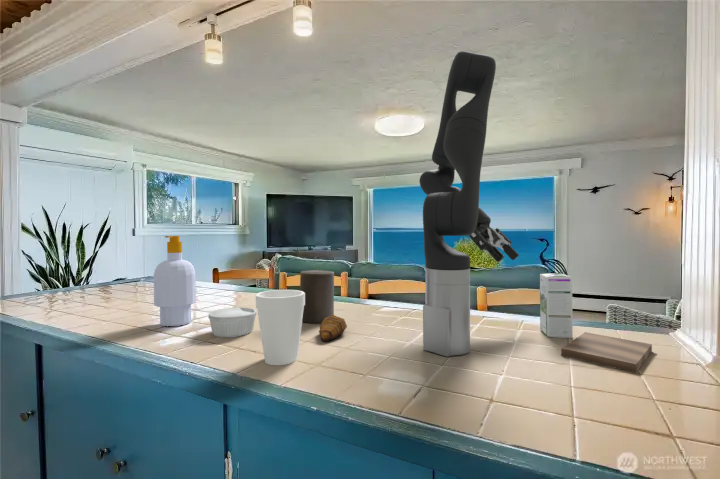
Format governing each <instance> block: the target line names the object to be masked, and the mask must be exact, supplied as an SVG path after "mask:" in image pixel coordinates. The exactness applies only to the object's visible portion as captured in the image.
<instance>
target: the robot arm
mask: <svg viewBox="0 0 720 479" xmlns="http://www.w3.org/2000/svg"><path fill="white" fill-rule="evenodd" d="M496 68H497V63H496V60H495V58H493V57H492V56H490V55H486V54H481V53H477V52H470V51H464V50H459V51H458V52H457V53H456V54H455V56H454V58H453V60H452V63H451V66H450V69H449V72H448V78H447V81H446V82H447V83H446V88H445V93H444V98H443V103H442V104H443V105H442V109H441V117H440V122H439V123H440V124H439V127H438V133H437V137H436V140H435V143H434V147H433V150H432V155H431V161H432V162H433V163H434V164H435V165H437V166H438V167H437V168H435V169H430V170H427V171H424V172H422V174H421V175H420V176H419V186H420V189H421V190H422V191H423V192H424V194H425V195H426V197H425V198H424V201H423V206H422V224H423V225H422V227H423V250H424V259H425V260H424V261H425V265H424V266H425V267H424V268H425V285H424V286H425V289H424V290H425V296H424V297H425V298H424V299H425V300H424V301H425V304H424V305H423V306H422V350H424V351H427V352H430V353H433V354H437V355H440V356H444V357H451V356H461V355H466V354H468V353H469V352H471V258H470V256H469V255H468V253H465V252H463V251H459V250H457V249H455V248H453V247H451V246H449V245H448V243H446V242H445V240H444V239H445V238H444V237H448V236H449V237H458V236H459V237H465V236H468V238H470V239H471V240H472V241H473V243H474V244H475V245H476V246H477V247H478V249H479V250H480V251H484V252H486V253H488V254H489V255H490V256H492V257H491V258H493V259H494V260H495V261H496V262H498V263H500V262H501V261H502V260H503V259H504V258H505V255H504V254H503V253H502V252H501V251H500V250H499V249H501V250H502V251H503V252H504V253H505V254H506V255H507V256H508V257H509V259H510V260H512V261H514V260H516V259H517V258H518V257H519V256H520V255H519V253H518V252H517V251H516V250H515V249H514V248H513V247H512V246H511V244H512V240H511V239H510V238H509V237H508V236H506V235H505V234H504V233H503V231H501V230H500V229H499V228H497V227H496V228H492V227H491V226H490V225H491V221H492V220H491V217H490V216H489V215H488V214H487V213H486V212H485V211H484V210H483V208H481V207H480V206H479V205H480V204H479V203H480V186H481V185H480V184H481V183H480V182H481V171H482V163H483V155H484V152H485V150H484V149H485V144H486V138H487V127H488V126H487V125H488V124H487V123H488V114H489V113H488V112H489V105H490V99H491V95H492V90H493V86H494V81H495V76H496ZM458 92H462V93H468V94H473V95H474V96H473V97H472V98H471V99H470V100H469V101H467V102H466V103H465V104H464V105H463V106H461V107H460V108H459V109H458V110H457V105H456V104H457V103H456V102H457V100H456V99H457V94H458ZM455 171H456V172H455ZM455 173H457V175H458V177H459V179H460V181H461V185H462V186H461V188H460V187H457V186H453V184H454V181H455ZM498 248H499V249H498Z"/></svg>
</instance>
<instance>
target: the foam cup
mask: <svg viewBox="0 0 720 479" xmlns="http://www.w3.org/2000/svg"><path fill="white" fill-rule="evenodd" d="M304 305H305V293H304V292H303V291H300V289H299V290H298V289H273V290H265V291H260V292H257V293H255V308H256V312H257V316H258V324H259V330H260V337H261V338H260V339H261V346H262V351H263V357H264V363H265V364H267V365H271V366H284V365H285V366H286V365H289V364H292V363H295V362H296V361H297V360H298V356H299V351H300V341H301V336H302V335H301V334H302V327H303V326H302V325H303V322H302V318H303V310H304Z"/></svg>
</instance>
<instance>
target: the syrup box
mask: <svg viewBox="0 0 720 479" xmlns="http://www.w3.org/2000/svg"><path fill="white" fill-rule="evenodd" d="M539 300H540V301H539V302H540V303H539V313H540V314H539V315H540V316H539V318H540V319H539V321H540V323H539V325H540V331H541V332H542V333H543V334H544V335H545V336H546V337H549V338H550V337H551V338H558V339H559V338H561V339H563V338H564V339H565V338H566V339H573V321H574V320H573V277H572V276H570V275H567V274H564V273H553V272H552V273H540V274H539Z"/></svg>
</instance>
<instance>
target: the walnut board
mask: <svg viewBox="0 0 720 479" xmlns="http://www.w3.org/2000/svg"><path fill="white" fill-rule="evenodd" d="M560 349H561V350H560V352H561V353H560V355H561V357H566V358H567V357H568V358H570V359H574V360H579V361H583V362H588V363H593V364H597V365H601V366H606V367H610V368H615V369H618V370H619V369H620V370H623V371H628V372H632V373H636V374H637V372H638V371H639V369H640V368H641V367H642V365H643V364H644V363H645V361H646V360H647V359H648V358H649V356H650V354H652V351H653V344H652V343H646V342H642V341H637V340H631V339H624V338H621V337H620V338H619V337H614V336H609V335H603V334H602V335H601V334H596V333H591V332H585V331H584V332H583V333H582V334H580V335H579V336H577V337H576V338H574V339H573V340H571V341H570V342H568V343H566V344H565V345H564V346H562V347H561V348H560Z"/></svg>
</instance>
